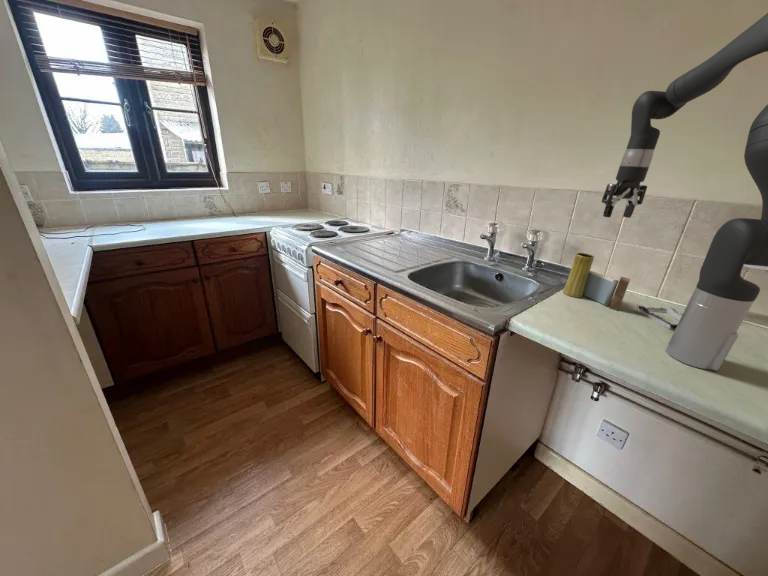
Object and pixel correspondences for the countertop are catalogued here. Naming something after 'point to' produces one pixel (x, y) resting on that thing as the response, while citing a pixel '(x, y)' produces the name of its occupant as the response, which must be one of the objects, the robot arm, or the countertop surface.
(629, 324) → the countertop surface
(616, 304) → the gate post
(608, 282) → the grey flat panel
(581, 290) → the vase
